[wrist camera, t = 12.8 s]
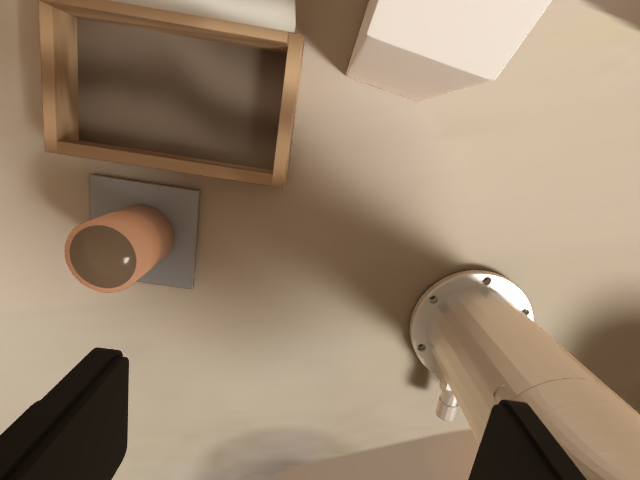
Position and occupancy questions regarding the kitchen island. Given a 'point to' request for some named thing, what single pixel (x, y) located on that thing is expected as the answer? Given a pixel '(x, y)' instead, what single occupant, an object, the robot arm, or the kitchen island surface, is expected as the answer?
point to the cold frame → (173, 84)
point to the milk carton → (439, 43)
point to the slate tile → (172, 203)
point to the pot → (119, 247)
